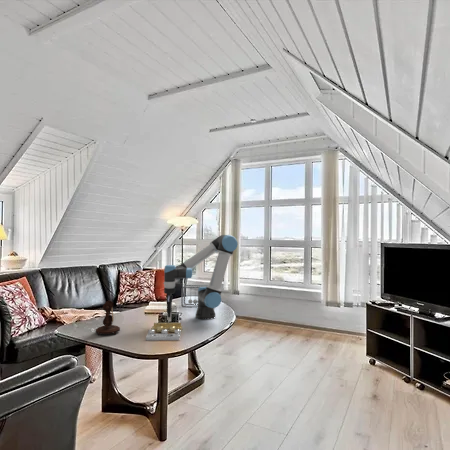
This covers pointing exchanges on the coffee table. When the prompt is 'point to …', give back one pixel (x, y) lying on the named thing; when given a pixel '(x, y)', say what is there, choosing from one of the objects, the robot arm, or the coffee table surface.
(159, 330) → the brass leaf
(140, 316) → the coffee table surface
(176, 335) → the steel leaf
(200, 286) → the newton's cradle
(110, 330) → the dark wooden figurine
